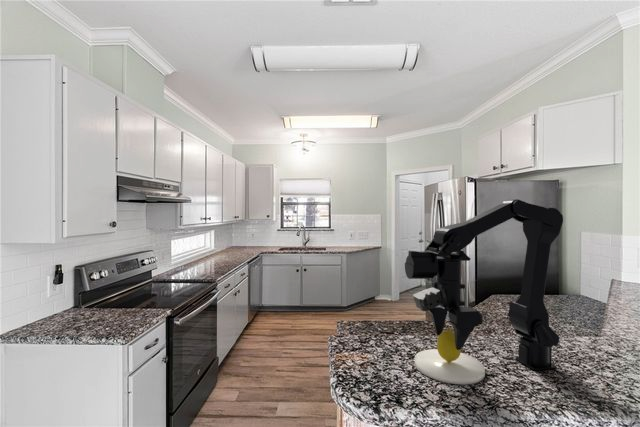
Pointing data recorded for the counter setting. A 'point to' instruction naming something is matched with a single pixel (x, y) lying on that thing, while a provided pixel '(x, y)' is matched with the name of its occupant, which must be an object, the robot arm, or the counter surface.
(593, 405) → the counter surface
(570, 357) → the counter surface
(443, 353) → the lemon
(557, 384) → the counter surface
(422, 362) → the plate
